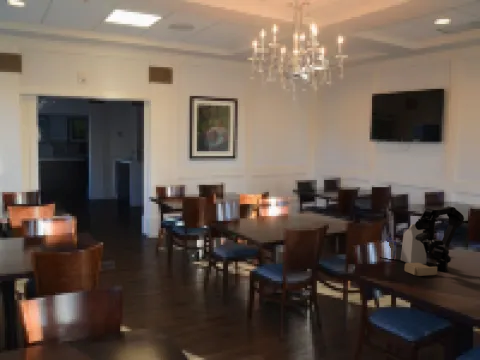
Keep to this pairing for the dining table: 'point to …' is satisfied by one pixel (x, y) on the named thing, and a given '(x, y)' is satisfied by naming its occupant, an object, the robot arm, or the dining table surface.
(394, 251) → the ink cartridge box
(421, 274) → the flap
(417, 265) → the carton
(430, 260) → the dining table surface
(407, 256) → the milk
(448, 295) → the dining table surface
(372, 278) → the dining table surface
